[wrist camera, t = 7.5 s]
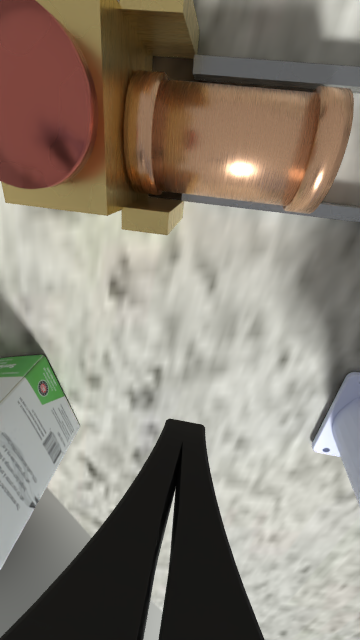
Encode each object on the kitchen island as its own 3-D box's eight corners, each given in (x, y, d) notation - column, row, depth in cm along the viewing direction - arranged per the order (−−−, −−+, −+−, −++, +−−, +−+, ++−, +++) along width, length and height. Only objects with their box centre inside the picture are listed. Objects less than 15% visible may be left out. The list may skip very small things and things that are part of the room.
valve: (199, 31, 12) (163, -133, 5) (182, 217, 16) (148, 256, 9) (2, 17, 13) (-241, -139, 6) (31, 198, 16) (-100, 222, 10)
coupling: (334, 89, 12) (372, 86, 8) (299, 198, 15) (317, 228, 11) (150, 73, 13) (117, 64, 9) (149, 180, 15) (124, 204, 12)
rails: (462, 82, 11) (482, 75, 11) (397, 223, 14) (408, 227, 13) (196, 62, 12) (194, 54, 12) (184, 198, 15) (181, 200, 14)
